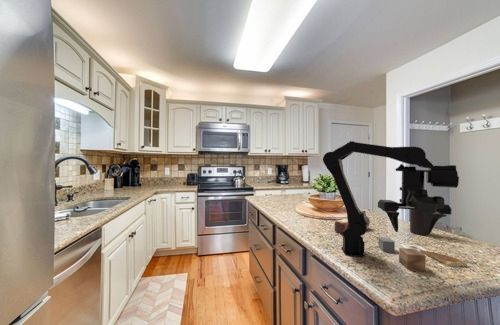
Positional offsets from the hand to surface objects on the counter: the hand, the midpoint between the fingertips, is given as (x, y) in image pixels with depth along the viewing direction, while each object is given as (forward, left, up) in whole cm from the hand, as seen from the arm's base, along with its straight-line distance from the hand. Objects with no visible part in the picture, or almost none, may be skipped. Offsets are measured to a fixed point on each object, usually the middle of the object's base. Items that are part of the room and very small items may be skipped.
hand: (411, 232), depth 66 cm
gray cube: (-2, +13, -11) cm, 17 cm away
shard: (+13, +7, -12) cm, 19 cm away
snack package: (-8, +35, -11) cm, 38 cm away
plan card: (+9, +16, -11) cm, 21 cm away
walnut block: (0, 0, -11) cm, 11 cm away
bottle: (+23, +38, -11) cm, 46 cm away
